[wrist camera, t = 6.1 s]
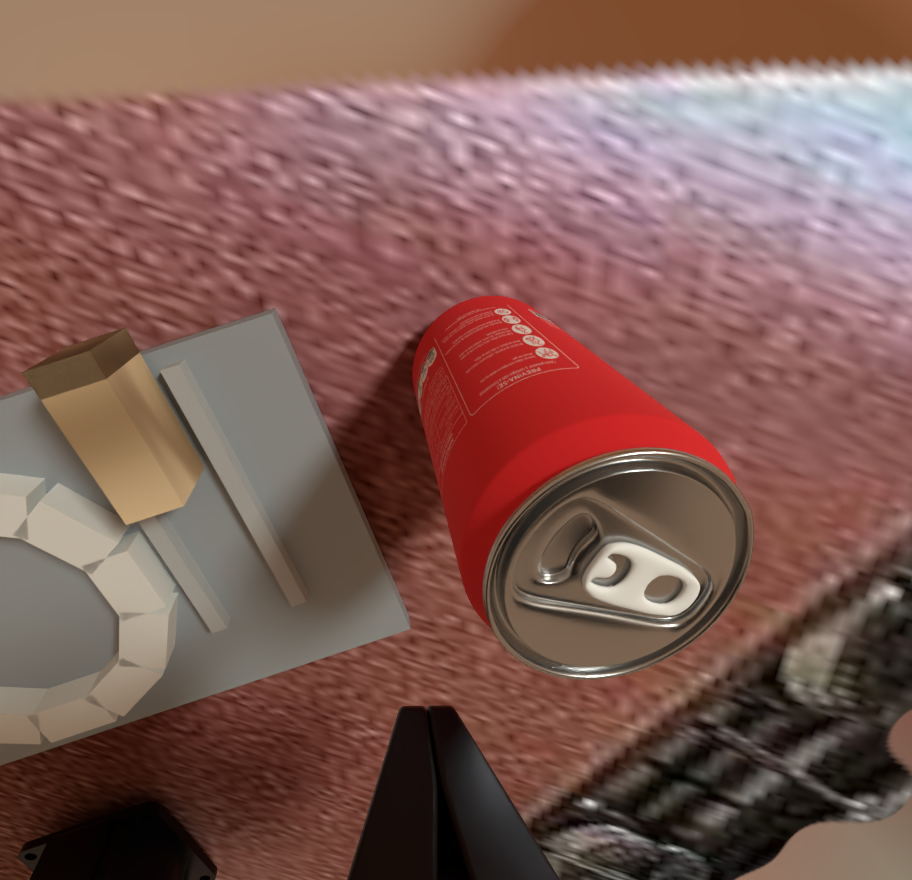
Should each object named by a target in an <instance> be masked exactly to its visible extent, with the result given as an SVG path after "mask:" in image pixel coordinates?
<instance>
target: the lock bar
mask: <svg viewBox="0 0 912 880" xmlns="http://www.w3.org/2000/svg"><path fill="white" fill-rule="evenodd" d="M22 373H23V375H24V376H25V378H26V379H27V381H28V382H29V384H30V385H31V386H32V388H33V389H34V391H35V392H36V394H37V395H38V397H39V398H40V400H41V401H42V403H43V404H44V406H45V407H46V408H47V410H48V411H49V413H50V414H51V416H52V417H53V419H54V420H55V422H56V423H57V425H58V426H59V428H60V429H61V430H62V432H63V433H64V435H65V436H66V438H67V439H68V441H69V442H70V444H71V445H72V447H73V448H74V450H75V451H76V452H77V454H78V455H79V457H80V458H81V460H82V461H83V463H84V464H85V466H86V467H87V469H88V470H89V472H90V473H91V474H92V476H93V477H94V479H95V480H96V482H97V483H98V485H99V486H100V488H101V489H102V491H103V492H104V494H105V495H106V496H107V498H108V499H109V501H110V502H111V504H112V505H113V507H114V508H115V510H116V511H117V513H118V514H119V516H120V517H121V518H122V520H123V521H124V523H125V524H126V525H128V524H131V523H134V522H137V521H140V520H143V519H146V518H149V517H152V516H156V515H159V514H162V513H165V512H168V511H171V510H174V509H177V508H180V507H183V506H184V505H185V504H186V502H187V500H188V498H189V496H190V494H191V492H192V490H193V489H194V487H195V485H196V483H197V481H198V479H199V477H200V475H201V474H202V472H203V470H204V468H205V467H204V465H203V463H202V461H201V460H200V458H199V456H198V454H197V453H196V451H195V449H194V447H193V445H192V444H191V442H190V440H189V438H188V437H187V435H186V433H185V431H184V430H183V428H182V426H181V424H180V423H179V421H178V419H177V417H176V416H175V414H174V412H173V410H172V408H171V407H170V405H169V403H168V401H167V400H166V398H165V396H164V394H163V393H162V391H161V389H160V387H159V386H158V384H157V382H156V380H155V379H154V377H153V375H152V373H151V372H150V370H149V368H148V366H147V364H146V363H145V361H144V359H143V357H142V356H141V354H140V352H139V350H138V349H137V347H136V345H135V343H134V342H133V340H132V338H131V336H130V335H129V333H128V331H127V329H126V328H123V329H120V330H117V331H114V332H111V333H108V334H105V335H101V336H98V337H95V338H92V339H89V340H86V341H83V342H80V343H77V344H73V345H70V346H67V347H66V348H64V349H62V350H60V351H59V352H57V353H55V354H53V355H52V356H50V357H48V358H47V359H45V360H43V361H41V362H40V363H38V364H36V365H34V366H33V367H31V368H29V369H28V370H26V371H24V372H22Z"/></svg>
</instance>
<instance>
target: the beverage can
mask: <svg viewBox="0 0 912 880" xmlns="http://www.w3.org/2000/svg"><path fill="white" fill-rule="evenodd" d="M412 379H413V387H414V392H415V396H416V400H417V404H418V408H419V412H420V416H421V420H422V424H423V428H424V432H425V435H426V439H427V443H428V447H429V451H430V455H431V459H432V463H433V467H434V471H435V475H436V479H437V483H438V487H439V491H440V495H441V499H442V503H443V506H444V510H445V514H446V518H447V522H448V526H449V530H450V534H451V538H452V542H453V546H454V550H455V554H456V558H457V562H458V566H459V570H460V574H461V577H462V581H463V585H464V588H465V591H466V594H467V596H468V598H469V600H470V602H471V604H472V606H473V607H474V609H475V611H476V612H477V613H478V615H479V616H480V617H481V618H482V620H483V621H484V622H485V623H486V624H487V625H488V626H489V627H490V628H491V629H492V631H493V632H494V634H495V636H496V637H497V639H498V640H499V642H500V643H501V644H502V645H503V646H504V648H505V649H506V650H507V651H508V652H509V653H511V654H512V655H513V656H514V657H515V658H517V659H518V660H519V661H521V662H522V663H524V664H525V665H527V666H529V667H531V668H533V669H535V670H538V671H540V672H543V673H546V674H549V675H553V676H557V677H562V678H568V679H583V680H588V679H604V678H611V677H617V676H622V675H626V674H630V673H633V672H636V671H639V670H642V669H645V668H648V667H650V666H653V665H655V664H657V663H659V662H662V661H664V660H666V659H667V658H669V657H671V656H673V655H675V654H676V653H678V652H680V651H681V650H683V649H684V648H686V647H687V646H689V645H690V644H691V643H693V642H694V641H695V640H697V639H698V638H699V637H700V636H702V635H703V634H704V633H705V632H706V631H707V630H708V629H709V628H710V627H711V626H712V625H713V624H714V623H715V622H716V621H717V620H718V619H719V618H720V617H721V616H722V614H723V613H724V612H725V611H726V609H727V608H728V607H729V605H730V604H731V602H732V601H733V599H734V598H735V596H736V594H737V593H738V591H739V589H740V587H741V585H742V583H743V581H744V579H745V576H746V574H747V571H748V568H749V565H750V561H751V557H752V551H753V541H754V528H753V516H752V511H751V509H750V507H749V505H748V503H747V501H746V499H745V497H744V496H743V494H742V493H741V491H740V490H739V488H738V487H737V486H736V482H735V479H734V477H733V475H732V473H731V471H730V469H729V467H728V466H727V464H726V462H725V461H724V459H723V458H722V456H721V455H720V454H719V452H718V451H717V450H716V448H715V447H714V446H713V445H712V444H711V443H710V442H709V441H708V440H706V439H705V438H704V437H703V436H702V435H701V434H699V433H698V432H697V431H695V430H694V429H693V428H691V427H690V426H689V425H687V424H686V423H685V422H683V421H682V420H681V419H679V418H678V417H677V416H675V415H674V414H673V413H671V412H670V411H669V410H668V409H666V408H665V407H664V406H662V405H661V404H660V403H658V402H657V401H656V400H654V399H653V398H652V397H650V396H649V395H648V394H646V393H645V392H644V391H642V390H641V389H640V388H638V387H637V386H636V385H634V384H633V383H632V382H630V381H629V380H628V379H626V378H625V377H624V376H623V375H621V374H620V373H619V372H617V371H616V370H615V369H613V368H612V367H611V366H609V365H608V364H607V363H605V362H604V361H603V360H601V359H600V358H599V357H597V356H596V355H595V354H593V353H592V352H591V351H589V350H588V349H587V348H585V347H584V346H583V345H582V344H580V343H579V342H578V341H576V340H575V339H574V338H572V337H571V336H570V335H568V334H567V333H566V332H564V331H563V330H562V329H560V328H559V327H558V326H556V325H555V324H554V323H552V322H551V321H550V320H548V319H547V318H546V317H544V316H543V315H542V314H540V313H539V312H538V311H536V310H535V309H534V308H532V307H531V306H529V305H527V304H525V303H523V302H521V301H518V300H516V299H512V298H508V297H502V296H484V297H477V298H473V299H470V300H466V301H464V302H461V303H459V304H457V305H455V306H453V307H452V308H450V309H448V310H447V311H446V312H444V313H443V314H442V315H440V316H439V317H438V318H437V319H436V320H435V321H434V322H433V323H432V324H431V326H430V327H429V328H428V329H427V331H426V332H425V334H424V335H423V337H422V339H421V341H420V343H419V345H418V348H417V350H416V353H415V357H414V362H413V370H412Z"/></svg>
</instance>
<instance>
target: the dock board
mask: <svg viewBox="0 0 912 880" xmlns="http://www.w3.org/2000/svg"><path fill="white" fill-rule="evenodd" d="M140 354H141V356H142V357H143V359H144V361H145V363H146V364H147V366H148V368H149V370H150V372H151V373H152V375H153V377H154V379H155V380H156V382H157V384H158V386H159V387H160V389H161V391H162V393H163V394H164V396H165V398H166V400H167V401H168V403H169V405H170V407H171V408H172V410H173V412H174V414H175V416H176V417H177V419H178V421H179V423H180V424H181V426H182V428H183V430H184V431H185V433H186V435H187V437H188V438H189V440H190V442H191V444H192V445H193V447H194V449H195V451H196V453H197V454H198V456H199V458H200V460H201V461H202V463H203V465H204V467H205V468H204V470H203V472H202V474H201V475H200V477H199V479H198V481H197V483H196V485H195V487H194V489H193V490H192V492H191V494H190V496H189V498H188V500H187V502H186V504H185V505H184V506H183V507H180V508H177V509H174V510H171V511H168V512H165V513H162V514H159V515H156V516H152V517H149V518H146V519H143V520H140V521H137V522H134V523H131V524H128V525H126V524H125V523H124V521H123V520H122V518H121V517H120V516H119V514H118V513H117V511H116V510H115V508H114V507H113V505H112V504H111V502H110V501H109V499H108V498H107V496H106V495H105V494H104V492H103V491H102V489H101V488H100V486H99V485H98V483H97V482H96V480H95V479H94V477H93V476H92V474H91V473H90V472H89V470H88V469H87V467H86V466H85V464H84V463H83V461H82V460H81V458H80V457H79V455H78V454H77V452H76V451H75V450H74V448H73V447H72V445H71V444H70V442H69V441H68V439H67V438H66V436H65V435H64V433H63V432H62V430H61V429H60V428H59V426H58V425H57V423H56V422H55V420H54V419H53V417H52V416H51V414H50V413H49V411H48V410H47V408H46V407H45V406H44V404H43V403H42V401H41V400H40V398H39V397H38V395H37V394H36V392H35V391H34V389H33V388H32V386H31V387H28V388H25V389H22V390H19V391H16V392H13V393H10V394H7V395H3V396H0V766H1V765H4V764H7V763H10V762H13V761H16V760H19V759H22V758H25V757H28V756H31V755H34V754H37V753H40V752H43V751H46V750H49V749H52V748H55V747H58V746H61V745H64V744H67V743H70V742H73V741H76V740H79V739H82V738H85V737H88V736H91V735H94V734H97V733H100V732H103V731H106V730H109V729H112V728H115V727H118V726H121V725H124V724H127V723H130V722H133V721H136V720H139V719H142V718H145V717H148V716H151V715H154V714H157V713H160V712H163V711H166V710H169V709H172V708H175V707H178V706H181V705H184V704H187V703H190V702H193V701H196V700H199V699H202V698H205V697H208V696H211V695H214V694H217V693H220V692H223V691H226V690H229V689H232V688H235V687H238V686H241V685H244V684H247V683H250V682H253V681H256V680H259V679H262V678H265V677H268V676H271V675H274V674H277V673H280V672H283V671H286V670H289V669H292V668H295V667H298V666H301V665H304V664H307V663H310V662H313V661H316V660H319V659H322V658H325V657H328V656H331V655H334V654H337V653H340V652H343V651H346V650H349V649H352V648H355V647H358V646H361V645H364V644H367V643H370V642H373V641H376V640H379V639H382V638H385V637H388V636H391V635H394V634H397V633H400V632H403V631H406V630H409V629H410V621H409V615H408V612H407V610H406V608H405V606H404V603H403V601H402V599H401V596H400V594H399V592H398V589H397V587H396V585H395V583H394V580H393V578H392V576H391V573H390V571H389V569H388V566H387V564H386V562H385V559H384V557H383V555H382V553H381V550H380V548H379V546H378V543H377V541H376V539H375V536H374V534H373V532H372V530H371V527H370V525H369V523H368V520H367V518H366V516H365V513H364V511H363V509H362V506H361V504H360V502H359V500H358V497H357V495H356V493H355V490H354V488H353V486H352V483H351V481H350V479H349V477H348V474H347V472H346V470H345V467H344V465H343V463H342V460H341V458H340V456H339V453H338V451H337V449H336V447H335V444H334V442H333V440H332V437H331V435H330V433H329V430H328V428H327V426H326V424H325V421H324V419H323V417H322V414H321V412H320V410H319V407H318V405H317V403H316V400H315V398H314V396H313V394H312V391H311V389H310V387H309V384H308V382H307V380H306V377H305V375H304V373H303V371H302V368H301V366H300V364H299V361H298V359H297V357H296V354H295V352H294V350H293V347H292V345H291V343H290V341H289V338H288V336H287V334H286V331H285V329H284V327H283V324H282V322H281V320H280V318H279V315H278V313H277V311H276V308H274V309H271V310H267V311H264V312H261V313H258V314H255V315H252V316H249V317H246V318H243V319H240V320H236V321H233V322H230V323H227V324H224V325H221V326H218V327H215V328H212V329H208V330H205V331H202V332H199V333H196V334H193V335H190V336H187V337H184V338H180V339H177V340H174V341H171V342H168V343H165V344H162V345H159V346H156V347H153V348H149V349H146V350H143V351H140Z"/></svg>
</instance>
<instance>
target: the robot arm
mask: <svg viewBox="0 0 912 880" xmlns="http://www.w3.org/2000/svg"><path fill="white" fill-rule="evenodd" d="M18 858H19V860H20V861H21V862H23V863H24V864H25V865H26V866H27V867H29V868H30V869H31V870H32V871H33V873H32V876H31V878H30V880H215V878H216V873H217V867H216V865H215V864H214V863H213V862H212V861H211V860H210V859H209V858H208V857H207V855H206V854H205V853H204V852H203V851H202V850H201V849H200V848H199V847H198V845H197V844H196V843H195V842H194V841H193V840H192V839H191V838H190V837H189V835H188V834H187V833H186V832H185V831H184V830H183V829H182V828H181V827H180V825H179V824H178V823H177V822H176V821H175V820H174V819H173V818H172V817H171V816H170V814H169V813H168V812H167V811H166V810H165V809H164V808H163V807H162V806H161V805H160V804H159V803H157V802H145V803H142V804H139V805H136V806H133V807H130V808H127V809H124V810H121V811H118V812H115V813H112V814H109V815H106V816H103V817H100V818H97V819H94V820H91V821H88V822H85V823H82V824H79V825H76V826H73V827H70V828H67V829H64V830H61V831H58V832H55V833H52V834H50V835H47V836H44V837H41V838H38V839H35V840H32V841H29V842H27V843H25V844H24V845H23V847H22V849H21V851H20V853H19V855H18ZM347 880H560V879H559V877H558V876H557V874H556V873H555V871H554V869H553V868H552V866H551V864H550V863H549V861H548V860H547V858H546V856H545V855H544V853H543V851H542V850H541V848H540V847H539V845H538V843H537V842H536V840H535V838H534V837H533V835H532V834H531V832H530V830H529V829H528V827H527V825H526V824H525V822H524V821H523V819H522V817H521V816H520V814H519V812H518V811H517V809H516V808H515V806H514V804H513V803H512V801H511V799H510V798H509V796H508V795H507V793H506V791H505V790H504V788H503V786H502V785H501V783H500V782H499V780H498V778H497V777H496V775H495V773H494V772H493V770H492V769H491V767H490V765H489V764H488V762H487V760H486V759H485V757H484V756H483V754H482V752H481V751H480V749H479V748H478V746H477V744H476V743H475V741H474V739H473V738H472V736H471V735H470V733H469V731H468V730H467V728H466V726H465V725H464V723H463V722H462V720H461V718H460V717H459V715H458V713H457V712H456V710H455V709H454V708H453V707H452V706H449V705H443V706H429V707H428V708H427V710H426V709H425V707H423V706H403V707H401V708H400V710H399V713H398V716H397V719H396V722H395V725H394V729H393V732H392V735H391V739H390V742H389V745H388V748H387V752H386V755H385V758H384V761H383V765H382V768H381V771H380V775H379V778H378V781H377V784H376V788H375V791H374V794H373V797H372V801H371V804H370V807H369V810H368V814H367V817H366V820H365V824H364V827H363V830H362V833H361V837H360V840H359V843H358V846H357V850H356V853H355V856H354V860H353V863H352V866H351V869H350V873H349V876H348V879H347Z"/></svg>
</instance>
